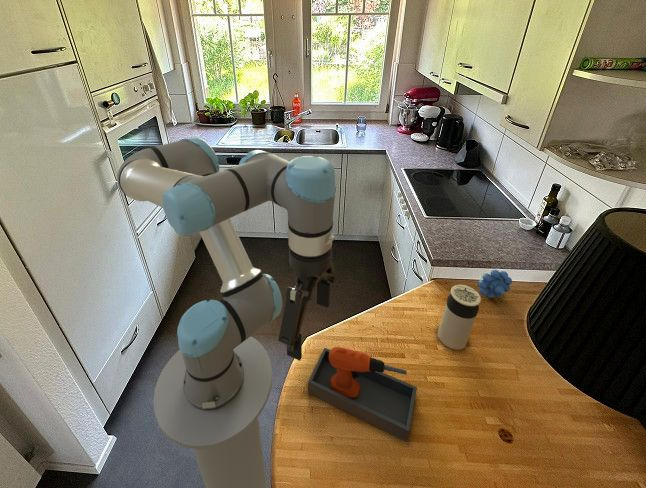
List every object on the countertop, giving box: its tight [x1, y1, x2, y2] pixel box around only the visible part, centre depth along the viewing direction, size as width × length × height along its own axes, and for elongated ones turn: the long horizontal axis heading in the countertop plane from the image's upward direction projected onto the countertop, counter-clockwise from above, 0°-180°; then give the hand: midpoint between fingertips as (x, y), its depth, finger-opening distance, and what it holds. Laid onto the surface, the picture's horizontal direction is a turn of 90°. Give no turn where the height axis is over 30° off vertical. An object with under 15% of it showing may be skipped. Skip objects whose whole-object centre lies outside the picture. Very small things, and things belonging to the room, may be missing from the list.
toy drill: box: [329, 346, 408, 399], centre depth 78 cm, size 5×19×15 cm, turn 70°
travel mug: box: [437, 284, 482, 351], centre depth 92 cm, size 8×8×18 cm
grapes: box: [477, 269, 513, 299], centre depth 106 cm, size 12×7×12 cm, turn 95°
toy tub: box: [307, 347, 418, 442], centre depth 81 cm, size 25×11×5 cm, turn 64°
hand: (309, 328), depth 66 cm, fingers open, 13 cm apart
